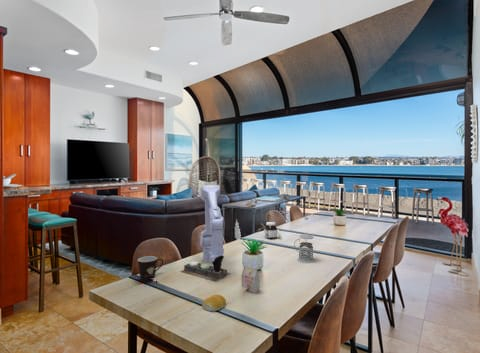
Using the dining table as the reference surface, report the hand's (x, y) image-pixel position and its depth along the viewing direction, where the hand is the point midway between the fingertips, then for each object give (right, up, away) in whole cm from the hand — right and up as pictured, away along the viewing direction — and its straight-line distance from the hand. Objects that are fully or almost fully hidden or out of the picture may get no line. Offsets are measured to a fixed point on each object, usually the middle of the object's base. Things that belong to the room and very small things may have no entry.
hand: (217, 271), depth 139 cm
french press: (+48, -3, +27) cm, 55 cm away
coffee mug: (-32, -4, -1) cm, 32 cm away
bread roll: (+1, -5, -27) cm, 28 cm away
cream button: (-13, 0, +8) cm, 15 cm away
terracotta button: (0, -2, 0) cm, 2 cm away
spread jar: (+36, -1, +79) cm, 87 cm away
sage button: (-6, 0, +4) cm, 8 cm away
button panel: (-6, -3, +4) cm, 8 cm away
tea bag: (+16, -4, -13) cm, 20 cm away
